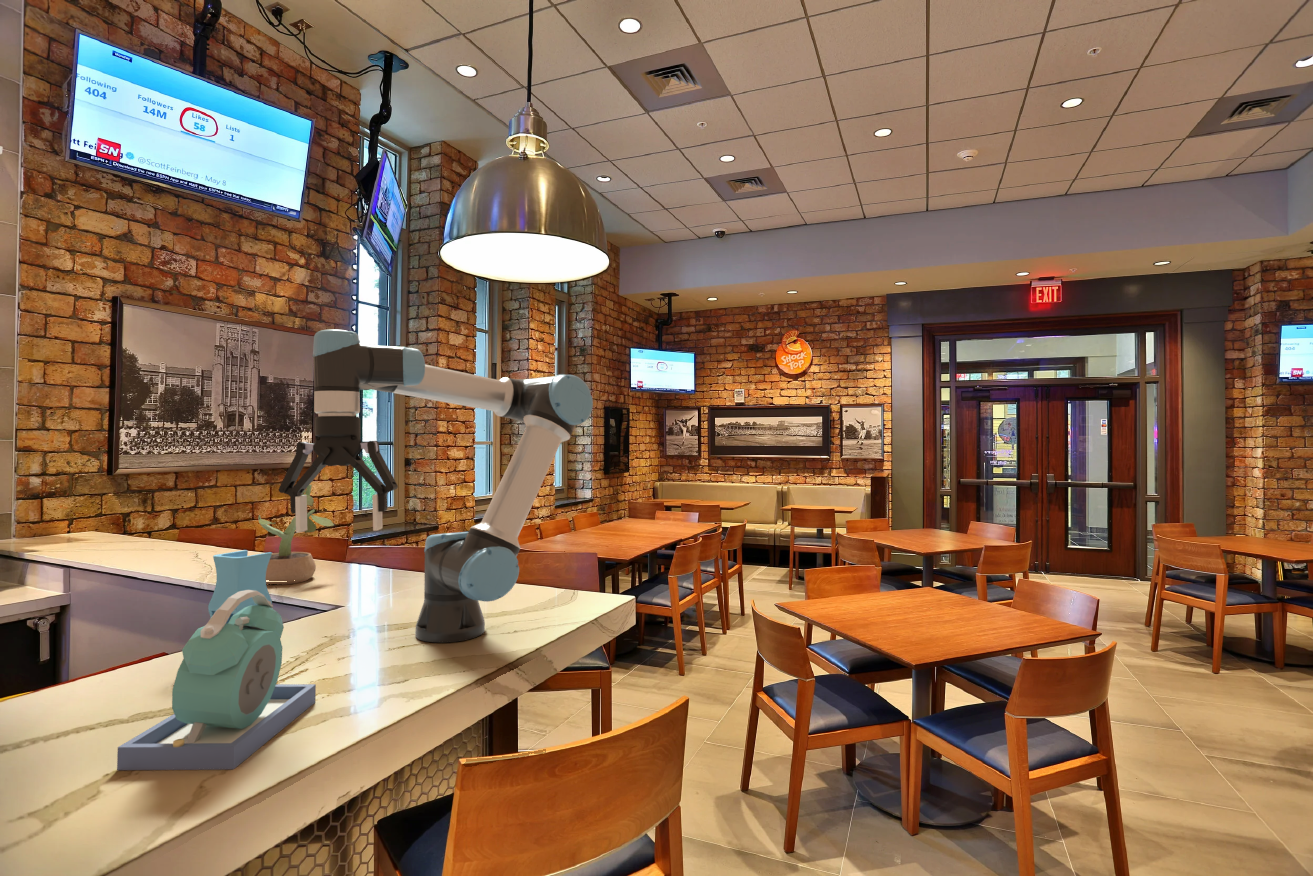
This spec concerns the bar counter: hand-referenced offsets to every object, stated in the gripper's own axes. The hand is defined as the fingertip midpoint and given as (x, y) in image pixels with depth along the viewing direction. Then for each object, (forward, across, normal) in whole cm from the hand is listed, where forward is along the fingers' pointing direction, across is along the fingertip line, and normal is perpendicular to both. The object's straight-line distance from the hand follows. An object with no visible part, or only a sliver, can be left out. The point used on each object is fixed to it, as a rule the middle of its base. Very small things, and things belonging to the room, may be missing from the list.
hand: (340, 530), depth 117 cm
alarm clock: (+26, +8, +22) cm, 35 cm away
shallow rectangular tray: (+27, +8, +22) cm, 35 cm away
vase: (+27, +28, -17) cm, 42 cm away
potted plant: (+28, +50, -84) cm, 102 cm away
